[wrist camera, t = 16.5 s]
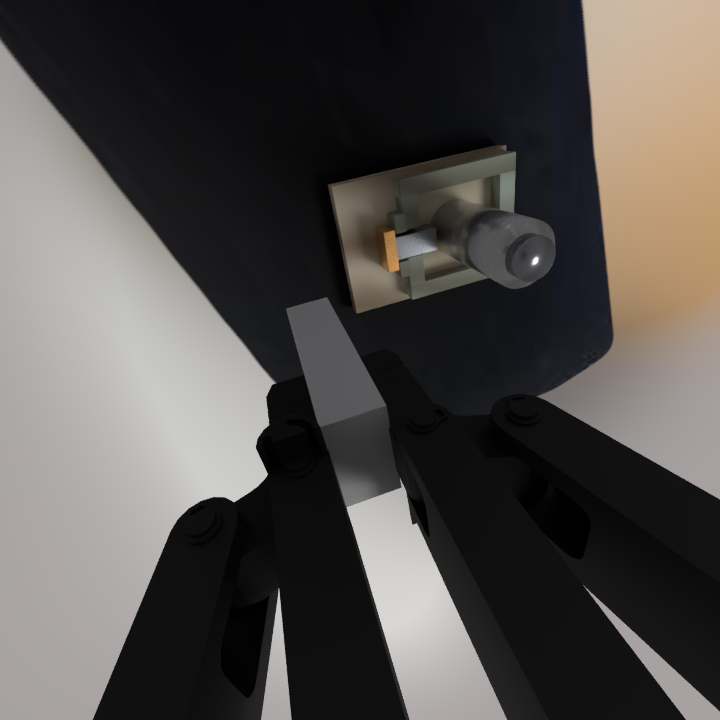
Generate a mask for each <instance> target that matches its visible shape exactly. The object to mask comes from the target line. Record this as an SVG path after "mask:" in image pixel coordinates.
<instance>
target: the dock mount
mask: <svg viewBox="0 0 720 720" xmlns="http://www.w3.org/2000/svg"><path fill="white" fill-rule="evenodd" d="M515 166H516V152H509V151H506V145H495V146H491V147H486V148H482V149H478V150H474V151H469V152H465V153H461V154H457V155H452V156H448V157H444V158H440V159H435V160H431V161H427V162H423V163H418V164H414V165H410V166H406V167H401V168H397V169H393V170H389V171H384V172H380V173H376V174H372V175H367V176H363V177H359V178H355V179H350V180H346V181H342V182H338V183H333V184H329V185H328V188H329V193H330V198H331V203H332V207H333V212H334V217H335V222H336V227H337V232H338V237H339V242H340V246H341V251H342V256H343V261H344V266H345V271H346V276H347V280H348V285H349V290H350V295H351V300H352V305H353V308H354V310H355V311H356V313H360V312H363V311H367V310H370V309H374V308H377V307H381V306H384V305H388V304H391V303H395V302H398V301H402V300H405V299H409V298H411V299H412V300H413V299H416V298H420V297H423V296H427V295H430V294H434V293H437V292H441V291H444V290H447V289H451V288H454V287H458V286H461V285H465V284H468V283H472V282H475V281H479V280H482V279H486V278H489V277H487V276H485V275H483V274H482V273H480V272H478V271H476V270H474V269H472V268H471V267H469V266H467V265H465V264H463V263H461V262H460V261H458V260H456V259H454V258H452V257H450V256H449V255H447V254H445V253H443V252H441V251H439V250H438V249H437V250H434V251H430V252H426V253H423V254H419V255H415V256H412V257H408V258H404V259H401V260H398V261H399V269H400V270H398V271H394V272H391V273H389V272H388V271H387V270H385V269H384V268H383V267H382V266H381V261H380V255H379V248H378V242H377V235H376V229H375V228H377V227H381V226H385V225H386V226H388V227H390V228H391V229H393V230H395V234H399V233H403V232H407V230H408V229H412V228H416V227H420V225H423V224H429V225H430V224H431V220H432V218H433V216H434V214H435V212H436V211H437V210H438V208H439V207H440V206H442V205H443V204H444V203H446V202H448V201H450V200H454V199H461V200H465V201H469V202H473V203H477V204H480V205H484V206H488V207H492V208H496V209H499V210H503V211H507V212H511V213H514V193H515Z"/></svg>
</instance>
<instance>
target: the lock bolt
mask: <svg viewBox="0 0 720 720" xmlns="http://www.w3.org/2000/svg"><path fill="white" fill-rule="evenodd" d="M375 229H376V235H377V242H378V248H379V255H380V261H381V266H382V267H383V268H384V269H385V270H387V271H388V272H389V273H391V272H394V271H398V270H400V269H399V261H398V260H401V259H404V258H408V257H412V256H415V255H419V254H423V253H426V252H430V251H434V250H437V237H436V228H435V227H433V226H431V225H429V224H423V225H420V227H416V228H412V229H408V230H407V232H403V233H399V234H395V230H393V229H391V228H390V227H388V226H386V225H385V226H381V227H377V228H375Z"/></svg>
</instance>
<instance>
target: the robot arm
mask: <svg viewBox="0 0 720 720" xmlns="http://www.w3.org/2000/svg"><path fill="white" fill-rule="evenodd" d="M286 310H287V314H288V318H289V321H290V325H291V328H292V332H293V336H294V339H295V343H296V346H297V350H298V354H299V357H300V361H301V364H302V368H303V372H304V375H303V376H299V377H296V378H293V379H290V380H286V381H283V382H280V383H277V384H273V385H272V386H271V389H270V391H269V393H268V395H267V397H266V398H267V407H268V417H269V426H268V427H267V428H265V429H264V430H263V432H262V433H261V435H260V436H259V438H258V440H257V445H256V449H257V451H258V453H259V456H260V458H261V460H262V462H263V464H264V466H265V468H266V471H267V473H268V475H267V477H266V479H265V480H264V481H263V482H262V483H261V484H260V485H259V486H258V487H257V488H255V489H254V490H253V491H251V492H250V493H248V494H247V495H245V496H244V497H242V498H240V499H239V500H237V501H236V502H232V501H231V500H229V499H227V498H224V497H222V498H221V497H213V498H210V499H206V500H203V501H200V502H199V503H197V504H196V505H194V506H192V507H191V508H189V509H188V510H187V511H186V512H185V513H184V514H183V515H182V516H181V517H180V518H179V519H178V520H177V522H176V524H175V525H174V527H173V529H172V530H171V532H170V534H169V537H168V539H167V542H166V544H165V546H164V549H163V552H162V554H161V556H160V558H159V561H158V563H157V566H156V568H155V571H154V573H153V575H152V578H151V580H150V583H149V585H148V588H147V590H146V592H145V595H144V597H143V600H142V602H141V605H140V607H139V610H138V612H137V614H136V617H135V619H134V621H133V624H132V626H131V629H130V631H129V634H128V636H127V638H126V641H125V643H124V646H123V648H122V650H121V653H120V655H119V658H118V660H117V663H116V665H115V667H114V670H113V672H112V675H111V677H110V679H109V682H108V684H107V687H106V689H105V692H104V694H103V696H102V699H101V701H100V704H99V706H98V709H97V711H96V713H95V716H94V718H93V720H261V715H262V708H263V701H264V693H265V686H266V679H267V671H268V664H269V657H270V649H271V642H272V635H273V627H274V620H275V612H276V605H277V597H278V588H279V590H280V600H281V611H282V622H283V632H284V643H285V654H286V664H287V675H288V685H289V695H290V707H291V717H292V720H409V717H408V714H407V710H406V707H405V703H404V700H403V696H402V693H401V690H400V686H399V683H398V680H397V676H396V673H395V669H394V666H393V663H392V659H391V656H390V653H389V649H388V646H387V642H386V639H385V636H384V632H383V629H382V626H381V622H380V619H379V615H378V612H377V609H376V605H375V602H374V598H373V595H372V592H371V588H370V585H369V582H368V578H367V575H366V571H365V568H364V565H363V562H362V558H361V555H360V551H359V548H358V544H357V541H356V538H355V534H354V531H353V527H352V524H351V521H350V518H349V515H348V512H347V508H346V507H348V506H351V505H354V504H357V503H359V502H362V501H365V500H367V499H370V498H373V497H376V496H379V495H382V494H384V493H387V492H390V491H393V490H395V489H398V488H401V482H400V479H401V481H402V483H403V485H404V487H405V489H406V492H407V498H408V503H409V509H410V515H411V520H412V524H416V523H417V524H418V526H419V528H420V530H421V532H422V535H423V537H424V539H425V541H426V543H427V546H428V548H429V550H430V552H431V554H432V557H433V559H434V561H435V563H436V565H437V567H438V570H439V572H440V574H441V576H442V578H443V581H444V583H445V585H446V587H447V589H448V591H449V594H450V596H451V598H452V600H453V602H454V605H455V607H456V609H457V611H458V613H459V615H460V617H461V620H462V622H463V624H464V626H465V629H466V631H467V633H468V635H469V637H470V639H471V642H472V644H473V646H474V648H475V650H476V652H477V655H478V657H479V659H480V661H481V663H482V666H483V668H484V670H485V672H486V674H487V677H488V679H489V681H490V683H491V685H492V687H493V689H494V692H495V694H496V696H497V698H498V700H499V703H500V705H501V707H502V709H503V711H504V714H505V716H506V718H507V720H686V719H685V718H684V717H683V715H682V714H681V713H680V711H679V710H678V709H677V708H676V706H675V705H674V704H673V702H672V701H671V700H670V698H669V697H668V696H667V695H666V693H665V692H664V691H663V689H662V688H661V687H660V685H659V684H658V683H657V681H656V680H655V679H654V678H653V676H652V675H651V673H650V672H649V671H648V670H647V668H646V667H645V666H644V664H643V663H642V662H641V660H640V659H639V658H638V657H637V655H636V654H635V653H634V651H633V650H632V649H631V647H630V646H629V645H628V643H627V642H626V641H625V639H624V638H623V637H622V636H621V634H620V633H619V632H618V630H617V629H616V628H615V626H614V625H613V624H612V623H611V621H610V620H609V619H608V617H607V616H606V615H605V613H604V612H603V611H602V610H601V608H600V607H599V605H598V604H597V603H596V602H595V600H594V599H593V598H592V596H591V595H590V594H589V592H588V591H587V590H586V588H587V589H588V590H589V591H590V592H591V593H593V595H595V596H596V597H597V598H598V599H599V600H600V601H601V602H602V603H603V604H604V605H605V606H607V607H608V608H609V609H610V610H611V611H612V612H613V613H614V614H615V615H616V616H617V617H618V618H619V619H621V620H622V621H623V622H624V623H625V624H626V625H627V626H628V627H629V628H630V629H631V630H632V631H634V632H635V633H636V634H637V635H638V636H639V637H640V638H641V639H642V640H643V641H645V643H646V644H648V645H649V646H650V647H651V648H652V649H653V650H654V651H655V652H656V653H657V654H658V655H660V656H661V657H662V658H663V659H664V660H665V661H666V662H667V663H668V664H669V665H670V666H671V667H672V668H674V669H675V670H676V671H677V672H678V673H679V674H680V675H681V676H682V677H683V678H684V679H685V680H687V681H688V682H689V683H690V684H691V685H692V686H693V687H694V688H695V689H696V690H697V691H699V693H701V694H702V695H703V696H704V697H705V698H706V699H707V700H708V701H709V702H710V703H711V704H713V705H714V706H715V707H716V708H717V709H718V710H719V711H720V500H719V499H718V498H716V497H714V496H713V495H711V494H709V493H707V492H706V491H704V490H702V489H700V488H699V487H697V486H695V485H693V484H692V483H690V482H688V481H686V480H685V479H683V478H681V477H679V476H677V475H676V474H674V473H672V472H670V471H669V470H667V469H665V468H663V467H661V466H660V465H658V464H656V463H655V462H653V461H651V460H649V459H648V458H646V457H644V456H642V455H641V454H639V453H637V452H635V451H633V450H632V449H630V448H628V447H627V446H625V445H623V444H621V443H620V442H618V441H616V440H614V439H613V438H611V437H609V436H607V435H606V434H604V433H602V432H600V431H598V430H597V429H595V428H593V427H591V426H590V425H588V424H586V423H584V422H583V421H581V420H579V419H577V418H576V417H574V416H572V415H570V414H568V413H567V412H565V411H563V410H562V409H560V408H558V407H556V406H555V405H553V404H551V403H549V402H548V401H546V400H543V399H541V398H539V397H536V396H533V395H526V394H515V395H508V396H506V397H503V398H500V399H499V400H498V401H497V402H496V403H494V404H493V407H492V410H491V414H487V415H474V416H459V415H453V414H452V413H451V412H450V411H448V410H447V409H446V408H445V407H443V406H440V405H437V404H435V403H432V401H431V400H430V399H429V397H428V396H427V394H426V393H425V392H424V390H423V389H422V388H421V386H420V385H419V383H418V382H417V381H416V379H415V378H414V377H413V375H412V374H411V373H410V371H409V370H408V368H407V367H405V364H404V363H403V361H402V360H401V359H400V357H399V356H398V355H397V354H395V353H393V352H391V351H389V350H387V349H384V350H380V351H377V352H374V353H370V354H367V355H364V356H361V357H359V355H358V353H357V351H356V349H355V348H354V346H353V344H352V342H351V340H350V339H349V337H348V335H347V333H346V331H345V329H344V328H343V326H342V324H341V322H340V320H339V318H338V317H337V315H336V313H335V311H334V309H333V308H332V306H331V304H330V302H329V300H328V298H327V297H326V298H323V299H319V300H316V301H312V302H309V303H305V304H301V305H298V306H294V307H291V308H287V309H286ZM399 476H400V477H399ZM583 585H584V586H585V587H586V588H585V587H584V586H583Z"/></svg>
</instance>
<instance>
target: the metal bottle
mask: <svg viewBox="0 0 720 720" xmlns="http://www.w3.org/2000/svg"><path fill="white" fill-rule="evenodd" d="M430 225H431V226H433V227H435V228H436V237H437V249H438V250H439V251H441V252H443V253H445V254H447V255H449V256H450V257H452V258H454V259H456V260H458V261H460V262H461V263H463V264H465V265H467V266H469V267H471V268H472V269H474V270H476V271H478V272H480V273H482V274H483V275H485V276H487V277H489V278H491V279H493V280H494V281H496V282H498V283H500V284H502V285H504V286H506V287H508V288H513V289H517V288H523V287H526V286H528V285H530V284H532V283H533V282H535V281H536V280H538V279H540V278H541V277H543V276H544V275H545V274H546V273H547V272H548V271H549V269H550V268H551V266H552V264H553V262H554V259H555V254H556V249H555V237H554V233H553V231H552V229H551V228H550V226H549V225H548V224H547V223H545V222H543V221H541V220H538V219H534V218H530V217H526V216H522V215H519V214H515V213H511V212H507V211H503V210H499V209H496V208H492V207H488V206H484V205H480V204H477V203H473V202H469V201H465V200H461V199H454V200H450V201H448V202H446V203H444V204H443V205H442V206H440V207H439V208H438V210H437V211H436V212H435V214H434V216H433V218H432V220H431V224H430Z"/></svg>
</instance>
